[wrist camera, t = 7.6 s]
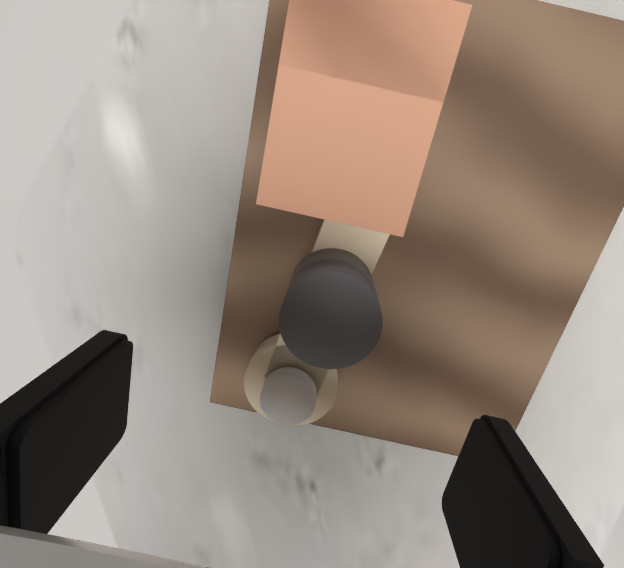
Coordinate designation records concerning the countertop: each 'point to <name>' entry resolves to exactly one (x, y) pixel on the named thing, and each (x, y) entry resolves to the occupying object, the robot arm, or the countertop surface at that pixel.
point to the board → (454, 234)
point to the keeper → (358, 107)
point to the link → (324, 315)
